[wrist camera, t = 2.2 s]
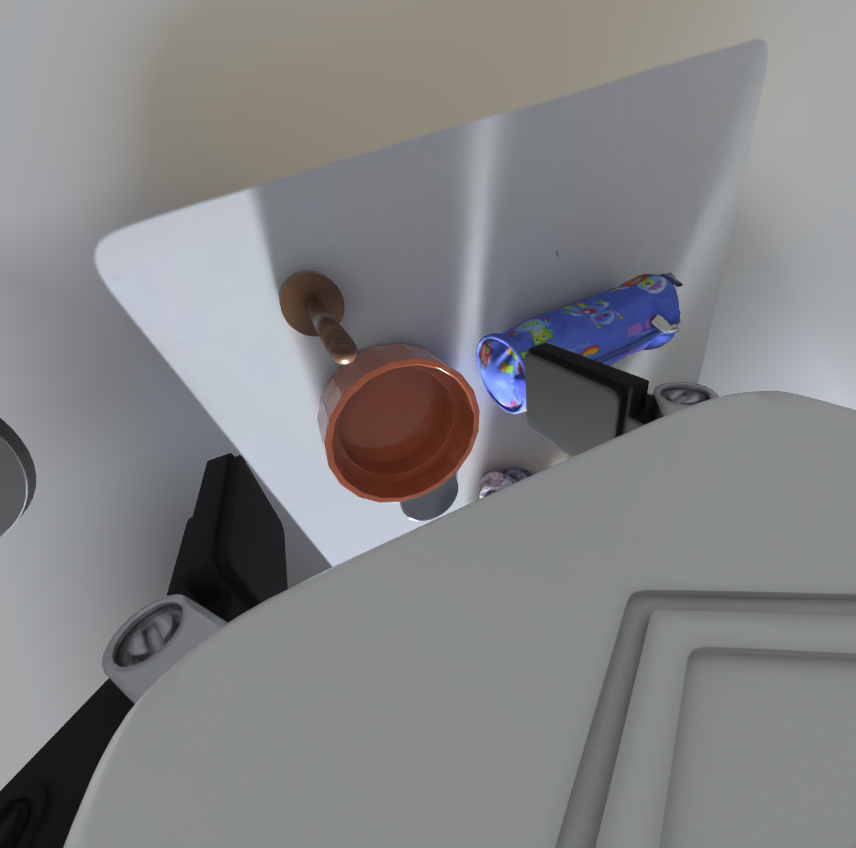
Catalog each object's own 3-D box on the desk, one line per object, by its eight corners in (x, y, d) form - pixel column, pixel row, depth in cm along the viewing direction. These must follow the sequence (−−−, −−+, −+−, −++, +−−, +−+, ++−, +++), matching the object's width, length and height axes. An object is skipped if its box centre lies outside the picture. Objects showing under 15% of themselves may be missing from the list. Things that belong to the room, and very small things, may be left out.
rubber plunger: (269, 312, 29) (270, 376, 16) (295, 257, 28) (321, 276, 15) (324, 341, 32) (365, 416, 19) (350, 292, 31) (413, 334, 18)
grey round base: (388, 510, 44) (389, 513, 43) (420, 459, 42) (422, 462, 42) (435, 523, 48) (437, 525, 48) (467, 477, 47) (469, 479, 46)
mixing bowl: (290, 446, 35) (294, 479, 30) (363, 312, 32) (381, 325, 27) (409, 484, 43) (427, 515, 39) (476, 380, 40) (505, 400, 35)
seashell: (468, 478, 49) (524, 471, 53) (479, 516, 47) (536, 505, 51) (487, 465, 44) (547, 458, 49) (500, 507, 42) (561, 496, 46)
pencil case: (626, 266, 41) (710, 273, 33) (621, 335, 46) (694, 355, 38) (464, 329, 37) (517, 354, 29) (476, 398, 41) (525, 435, 34)
